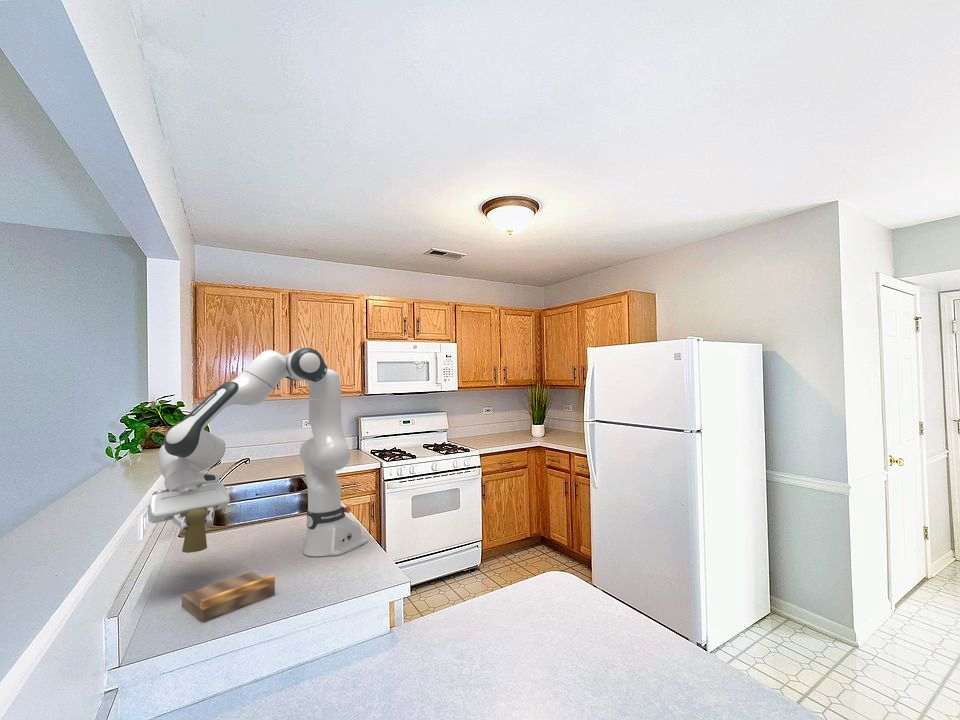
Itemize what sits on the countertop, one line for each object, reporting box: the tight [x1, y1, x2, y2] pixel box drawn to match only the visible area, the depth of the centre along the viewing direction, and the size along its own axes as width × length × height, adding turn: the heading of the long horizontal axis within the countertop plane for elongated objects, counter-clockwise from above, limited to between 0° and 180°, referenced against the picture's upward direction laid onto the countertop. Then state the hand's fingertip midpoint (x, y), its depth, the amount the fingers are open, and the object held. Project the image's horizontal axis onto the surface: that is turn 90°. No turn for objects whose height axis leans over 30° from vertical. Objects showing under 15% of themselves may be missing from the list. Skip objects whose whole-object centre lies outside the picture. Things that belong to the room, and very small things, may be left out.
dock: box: [181, 571, 276, 623], centre depth 121 cm, size 18×14×5 cm
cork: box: [181, 508, 208, 554], centre depth 127 cm, size 6×6×11 cm
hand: (197, 525), depth 127 cm, fingers closed on cork, 5 cm apart
